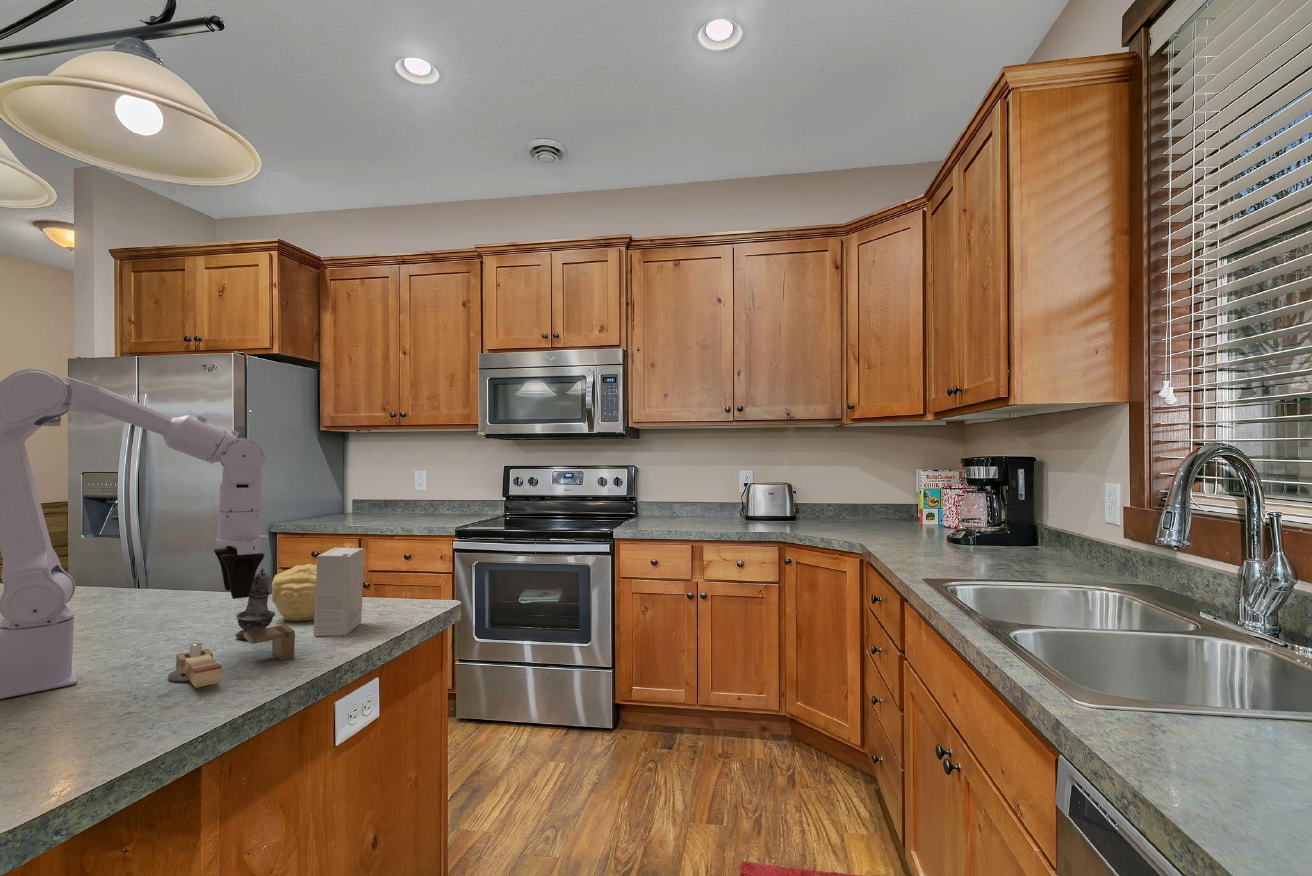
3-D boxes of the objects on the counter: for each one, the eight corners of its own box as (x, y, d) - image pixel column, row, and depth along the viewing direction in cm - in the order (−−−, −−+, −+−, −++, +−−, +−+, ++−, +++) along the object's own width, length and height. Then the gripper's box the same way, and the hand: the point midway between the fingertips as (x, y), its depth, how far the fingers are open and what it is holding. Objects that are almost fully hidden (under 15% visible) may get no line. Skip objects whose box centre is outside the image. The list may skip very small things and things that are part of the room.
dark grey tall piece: (280, 631, 108) (289, 567, 108) (256, 642, 102) (265, 574, 102) (250, 627, 109) (259, 562, 109) (224, 637, 103) (234, 569, 103)
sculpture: (261, 626, 111) (263, 569, 112) (290, 610, 123) (292, 559, 124) (326, 624, 113) (327, 568, 114) (348, 609, 125) (350, 558, 125)
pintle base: (172, 686, 82) (173, 653, 82) (164, 675, 86) (166, 644, 86) (224, 674, 87) (225, 644, 87) (214, 664, 91) (215, 635, 91)
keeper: (251, 667, 90) (252, 638, 90) (242, 660, 93) (243, 632, 93) (294, 658, 94) (294, 630, 94) (284, 651, 97) (285, 624, 97)
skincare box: (330, 624, 113) (332, 547, 114) (363, 623, 114) (365, 546, 115) (312, 637, 105) (314, 554, 105) (348, 636, 106) (350, 553, 106)
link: (176, 669, 86) (176, 653, 87) (207, 662, 89) (208, 647, 89) (190, 688, 79) (191, 672, 79) (225, 681, 82) (225, 665, 82)
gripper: (277, 512, 95) (274, 597, 94) (260, 507, 105) (257, 583, 105) (223, 515, 90) (219, 604, 89) (211, 508, 100) (208, 588, 100)
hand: (236, 593), depth 97 cm, fingers open, 7 cm apart
